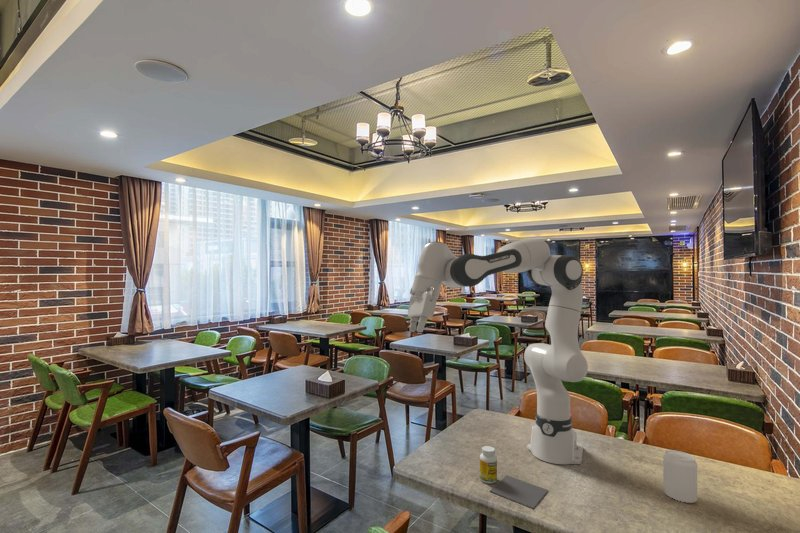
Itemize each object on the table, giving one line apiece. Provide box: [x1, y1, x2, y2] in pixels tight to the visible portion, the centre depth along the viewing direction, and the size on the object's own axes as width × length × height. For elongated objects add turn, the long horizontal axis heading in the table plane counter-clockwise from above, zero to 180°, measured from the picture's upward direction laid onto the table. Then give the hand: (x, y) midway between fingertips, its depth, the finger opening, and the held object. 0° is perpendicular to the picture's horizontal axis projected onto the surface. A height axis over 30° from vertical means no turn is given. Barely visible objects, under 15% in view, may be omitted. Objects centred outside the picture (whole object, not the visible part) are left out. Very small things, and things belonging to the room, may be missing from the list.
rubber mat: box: [489, 474, 549, 510], centre depth 114 cm, size 12×13×1 cm
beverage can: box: [662, 449, 698, 504], centre depth 114 cm, size 8×8×12 cm
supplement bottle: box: [479, 445, 498, 485], centre depth 121 cm, size 5×5×10 cm
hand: (415, 331), depth 121 cm, fingers open, 8 cm apart
